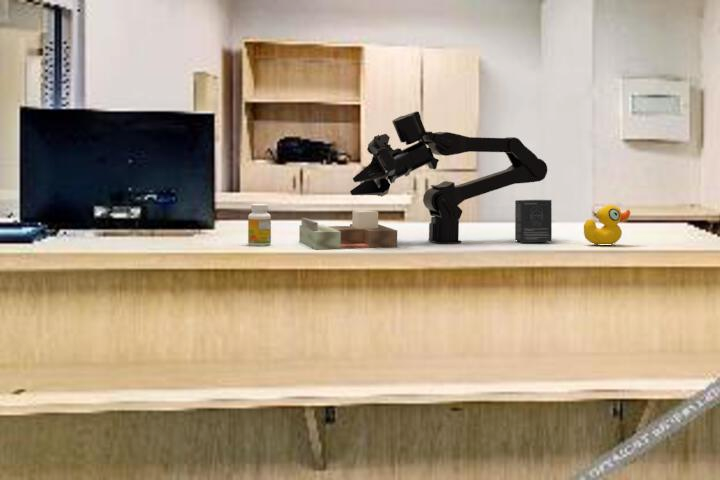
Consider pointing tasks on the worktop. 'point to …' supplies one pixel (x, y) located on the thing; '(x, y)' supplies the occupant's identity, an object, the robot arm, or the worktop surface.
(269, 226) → the supplement bottle
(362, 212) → the cream block
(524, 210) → the box
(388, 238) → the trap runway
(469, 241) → the worktop surface
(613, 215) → the duckling
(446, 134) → the robot arm
